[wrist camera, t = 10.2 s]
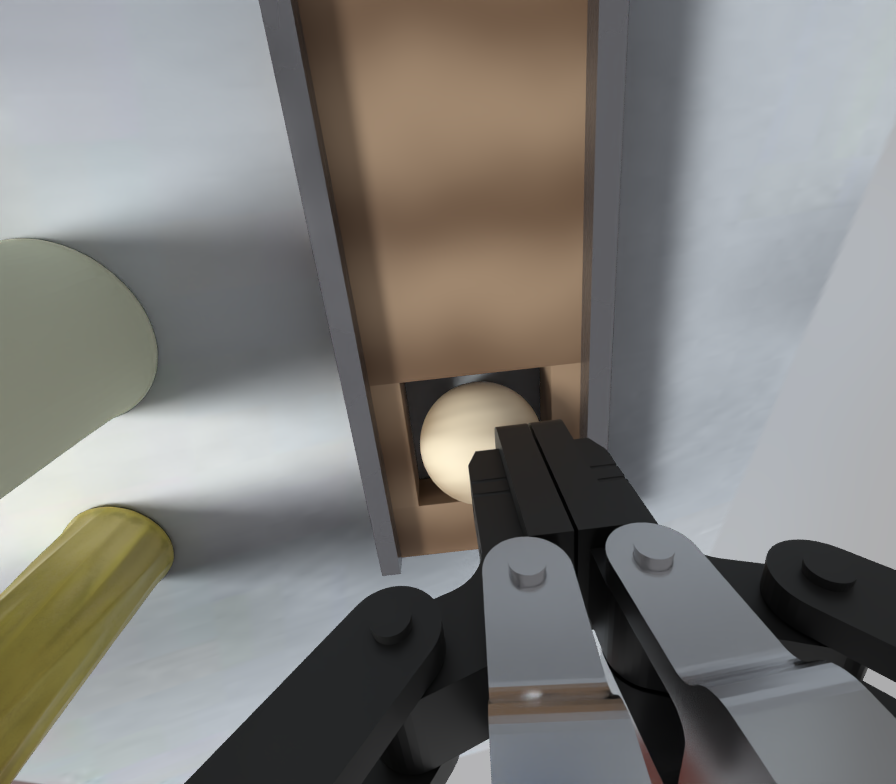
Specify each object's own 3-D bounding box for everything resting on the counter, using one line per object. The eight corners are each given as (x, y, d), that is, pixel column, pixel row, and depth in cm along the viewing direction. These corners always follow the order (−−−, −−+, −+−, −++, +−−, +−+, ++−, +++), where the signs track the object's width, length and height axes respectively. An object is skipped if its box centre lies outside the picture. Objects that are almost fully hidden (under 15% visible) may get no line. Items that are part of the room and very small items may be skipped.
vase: (179, 517, 27) (-52, 823, 14) (172, 590, 29) (-33, 913, 16) (67, 494, 26) (-296, 801, 13) (68, 572, 28) (-239, 900, 15)
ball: (430, 507, 25) (415, 399, 26) (538, 491, 25) (520, 384, 26) (426, 521, 19) (408, 380, 20) (568, 500, 19) (543, 361, 20)
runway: (282, -4, 17) (247, -51, 14) (593, -39, 17) (633, -94, 14) (387, 529, 28) (382, 575, 25) (581, 507, 28) (602, 551, 25)
